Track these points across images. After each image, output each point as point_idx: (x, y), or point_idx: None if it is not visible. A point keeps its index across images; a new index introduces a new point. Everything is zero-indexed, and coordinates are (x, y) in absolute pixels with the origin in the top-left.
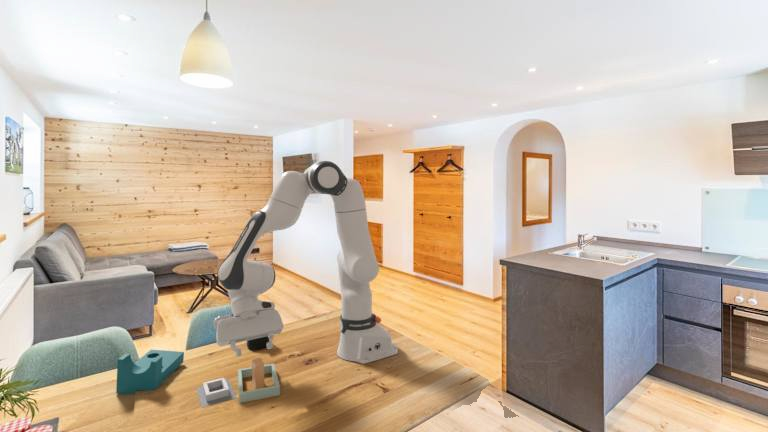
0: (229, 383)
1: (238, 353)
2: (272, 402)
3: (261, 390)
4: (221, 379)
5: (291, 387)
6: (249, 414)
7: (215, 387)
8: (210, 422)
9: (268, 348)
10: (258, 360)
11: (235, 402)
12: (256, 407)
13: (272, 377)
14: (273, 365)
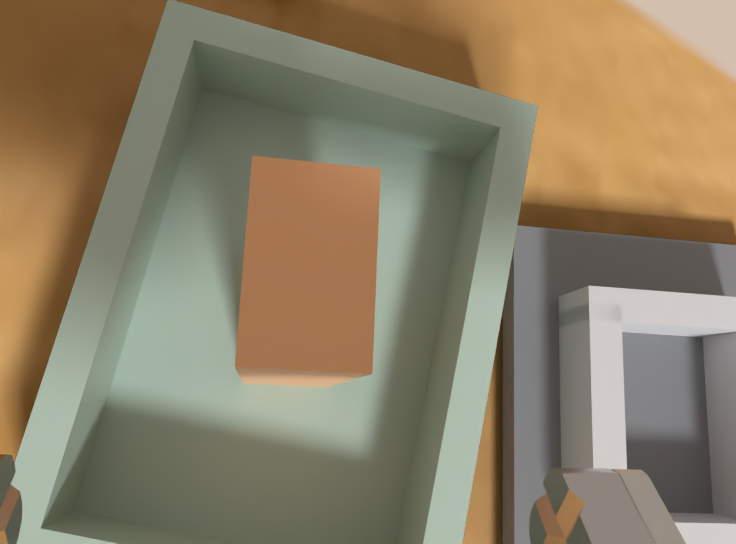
0: (521, 522)
1: (617, 472)
2: None
3: (344, 52)
4: None
5: (10, 159)
6: (456, 10)
7: None
8: (697, 85)
9: (8, 476)
10: (293, 285)
11: None
12: (389, 59)
13: (107, 386)
14: None
